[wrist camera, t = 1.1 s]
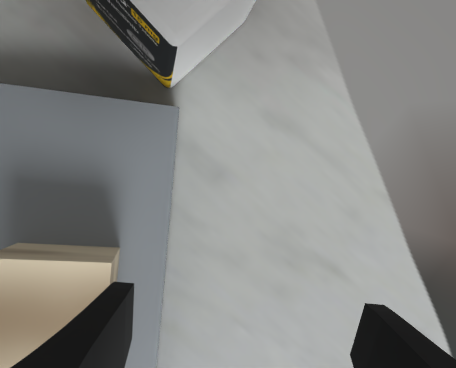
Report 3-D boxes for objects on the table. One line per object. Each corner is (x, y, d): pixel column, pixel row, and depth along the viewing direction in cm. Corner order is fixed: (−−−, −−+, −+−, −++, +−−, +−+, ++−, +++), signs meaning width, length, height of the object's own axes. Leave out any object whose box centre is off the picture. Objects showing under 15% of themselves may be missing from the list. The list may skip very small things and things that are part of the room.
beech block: (111, 341, 19) (100, 381, 15) (7, 342, 17) (-34, 386, 14) (120, 247, 19) (111, 263, 15) (17, 242, 18) (-21, 258, 14)
